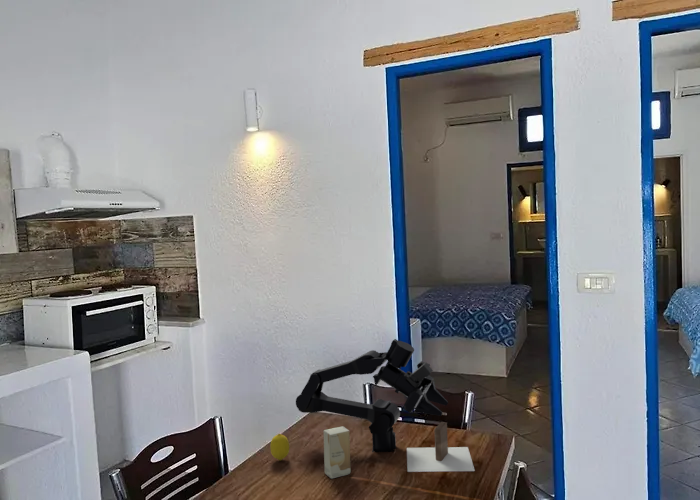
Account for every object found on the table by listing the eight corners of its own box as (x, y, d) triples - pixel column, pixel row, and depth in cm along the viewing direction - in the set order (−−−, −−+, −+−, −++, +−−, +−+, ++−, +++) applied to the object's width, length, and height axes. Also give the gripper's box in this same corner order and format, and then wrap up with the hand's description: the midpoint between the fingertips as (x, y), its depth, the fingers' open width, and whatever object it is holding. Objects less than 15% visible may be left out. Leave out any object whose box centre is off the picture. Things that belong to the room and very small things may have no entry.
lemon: (293, 457, 169) (292, 431, 168) (283, 465, 164) (282, 438, 163) (277, 455, 171) (276, 429, 171) (267, 463, 166) (265, 436, 166)
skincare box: (331, 479, 153) (328, 435, 153) (324, 473, 157) (322, 430, 157) (352, 473, 156) (350, 429, 156) (345, 467, 160) (342, 425, 160)
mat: (407, 473, 155) (407, 471, 155) (406, 449, 170) (406, 447, 170) (475, 473, 153) (474, 470, 153) (467, 449, 169) (467, 447, 169)
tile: (435, 460, 161) (434, 428, 160) (442, 451, 166) (440, 421, 166) (441, 461, 160) (440, 429, 160) (448, 452, 165) (446, 422, 165)
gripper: (403, 364, 158) (452, 395, 154) (418, 349, 176) (463, 377, 171) (384, 397, 160) (433, 429, 156) (401, 379, 178) (445, 407, 174)
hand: (444, 408), depth 164 cm, fingers open, 9 cm apart
